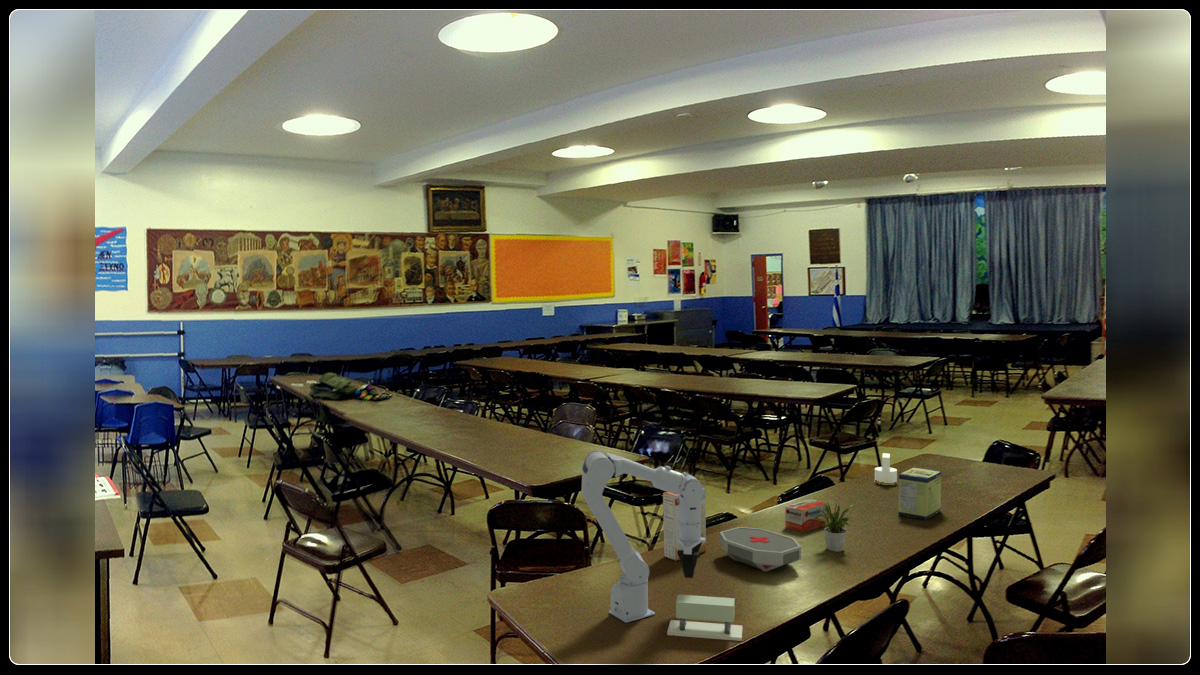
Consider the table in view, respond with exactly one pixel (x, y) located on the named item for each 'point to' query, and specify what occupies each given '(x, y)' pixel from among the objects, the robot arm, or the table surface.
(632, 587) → the robot arm
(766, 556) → the first aid kit
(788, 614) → the table surface
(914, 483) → the protein box
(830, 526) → the house plant
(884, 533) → the table surface
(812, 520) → the medicine box
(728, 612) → the pale green block
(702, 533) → the cracker box
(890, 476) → the cylinder with rectangular tab
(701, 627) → the peg stand
